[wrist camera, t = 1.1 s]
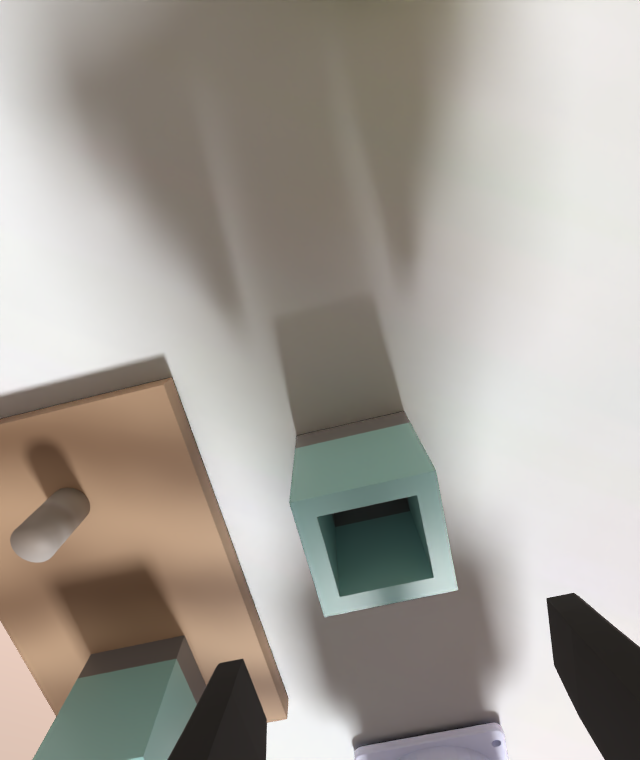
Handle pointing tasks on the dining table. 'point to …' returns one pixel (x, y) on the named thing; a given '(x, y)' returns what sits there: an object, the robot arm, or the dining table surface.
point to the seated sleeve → (127, 704)
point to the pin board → (119, 543)
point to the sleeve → (370, 515)
